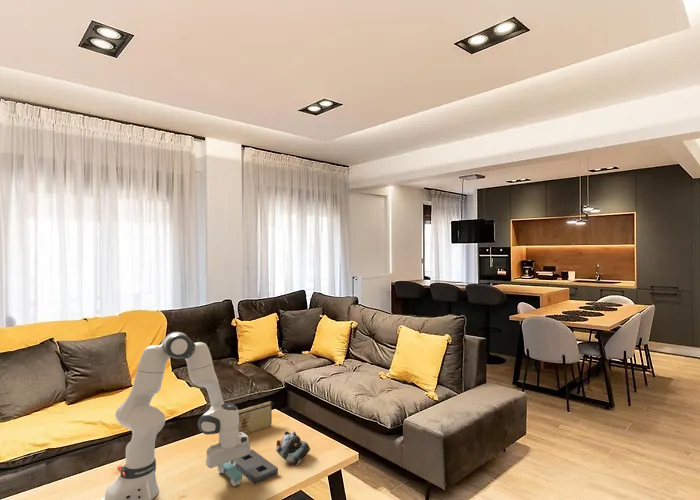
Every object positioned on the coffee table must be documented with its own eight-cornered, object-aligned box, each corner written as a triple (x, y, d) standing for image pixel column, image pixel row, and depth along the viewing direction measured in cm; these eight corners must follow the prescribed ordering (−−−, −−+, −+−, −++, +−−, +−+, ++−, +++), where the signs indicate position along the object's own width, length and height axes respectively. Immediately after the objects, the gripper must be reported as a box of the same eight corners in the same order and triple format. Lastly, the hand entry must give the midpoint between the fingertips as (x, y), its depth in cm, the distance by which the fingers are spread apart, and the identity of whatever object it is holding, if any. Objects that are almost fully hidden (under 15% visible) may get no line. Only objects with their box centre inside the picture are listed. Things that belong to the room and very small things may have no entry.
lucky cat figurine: (293, 469, 193) (280, 443, 194) (281, 469, 202) (268, 444, 202) (315, 449, 204) (301, 424, 205) (302, 450, 213) (289, 426, 213)
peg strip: (234, 487, 177) (234, 476, 177) (215, 469, 192) (215, 458, 192) (242, 484, 179) (242, 473, 179) (222, 466, 194) (222, 456, 194)
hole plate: (255, 484, 181) (255, 478, 181) (230, 463, 199) (230, 457, 199) (277, 474, 189) (277, 468, 189) (252, 455, 207) (252, 449, 207)
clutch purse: (268, 422, 246) (268, 397, 246) (274, 426, 241) (274, 401, 241) (221, 437, 226) (221, 410, 226) (226, 442, 221) (226, 414, 221)
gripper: (209, 450, 177) (209, 481, 176) (251, 436, 190) (251, 465, 190) (203, 444, 181) (203, 475, 181) (245, 431, 195) (245, 460, 195)
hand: (228, 470), depth 186 cm, fingers closed on peg strip, 3 cm apart
